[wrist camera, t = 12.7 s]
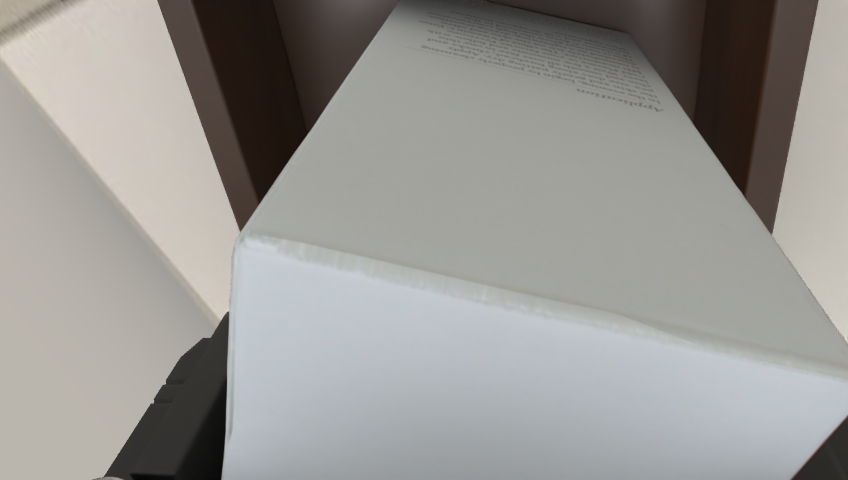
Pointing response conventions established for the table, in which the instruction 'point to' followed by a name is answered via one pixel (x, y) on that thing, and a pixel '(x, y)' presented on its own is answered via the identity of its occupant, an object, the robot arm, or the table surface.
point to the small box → (517, 277)
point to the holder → (586, 3)
